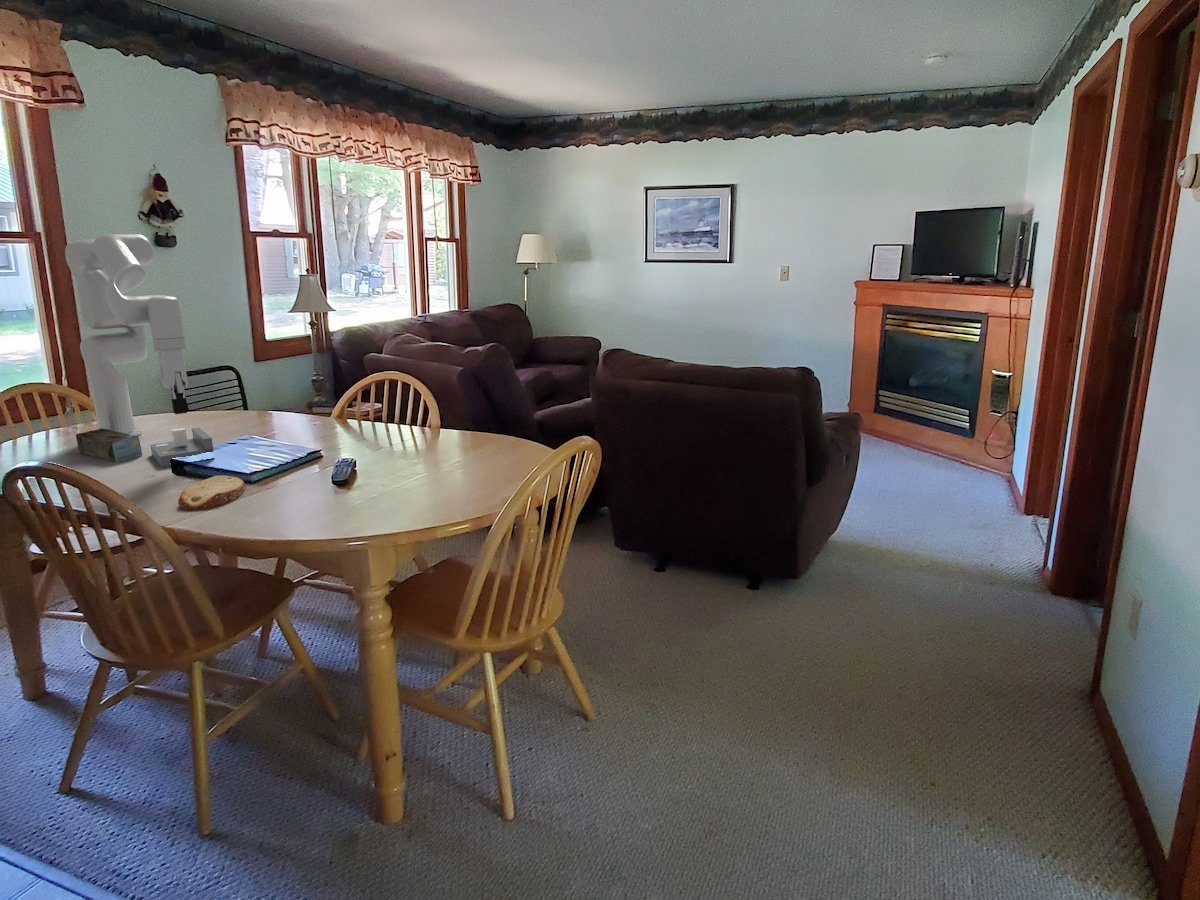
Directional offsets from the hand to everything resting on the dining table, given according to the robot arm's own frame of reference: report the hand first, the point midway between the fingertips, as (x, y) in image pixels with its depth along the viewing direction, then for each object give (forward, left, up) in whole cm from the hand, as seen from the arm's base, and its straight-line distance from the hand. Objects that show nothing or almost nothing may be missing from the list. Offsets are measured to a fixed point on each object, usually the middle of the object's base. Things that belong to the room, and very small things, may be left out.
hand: (180, 413), depth 211 cm
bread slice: (+36, -2, -14) cm, 38 cm away
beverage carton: (-23, -16, -14) cm, 31 cm away
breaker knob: (-7, 0, -10) cm, 13 cm away
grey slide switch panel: (-7, 0, -14) cm, 15 cm away
